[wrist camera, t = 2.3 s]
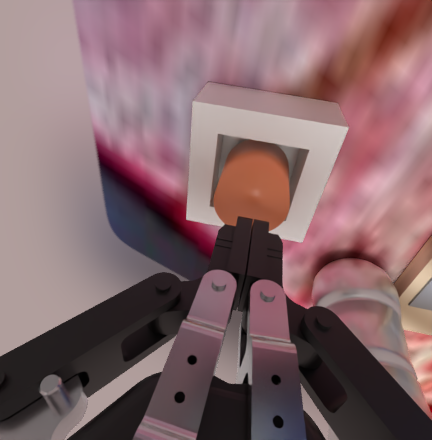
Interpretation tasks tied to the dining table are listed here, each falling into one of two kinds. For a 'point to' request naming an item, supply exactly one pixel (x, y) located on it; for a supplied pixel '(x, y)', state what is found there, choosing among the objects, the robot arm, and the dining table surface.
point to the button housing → (266, 132)
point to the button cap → (254, 184)
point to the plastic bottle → (369, 317)
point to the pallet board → (417, 292)
